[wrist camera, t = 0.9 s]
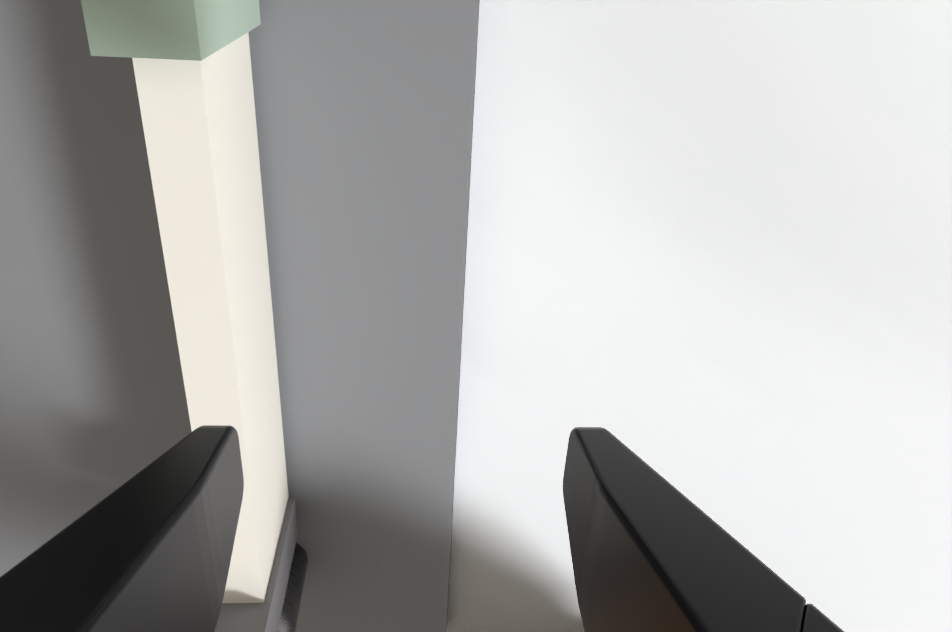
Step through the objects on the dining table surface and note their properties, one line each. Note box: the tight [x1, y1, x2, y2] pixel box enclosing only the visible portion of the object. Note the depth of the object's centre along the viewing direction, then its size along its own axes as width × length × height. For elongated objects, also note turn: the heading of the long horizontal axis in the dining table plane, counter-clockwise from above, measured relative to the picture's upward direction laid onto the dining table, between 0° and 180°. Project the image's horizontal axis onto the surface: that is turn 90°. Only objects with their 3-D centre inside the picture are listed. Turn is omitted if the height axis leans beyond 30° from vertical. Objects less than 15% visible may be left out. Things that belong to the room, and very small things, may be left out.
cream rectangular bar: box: [81, 0, 298, 632], centre depth 18 cm, size 18×2×5 cm, turn 177°
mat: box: [0, 0, 479, 632], centre depth 21 cm, size 27×26×1 cm
